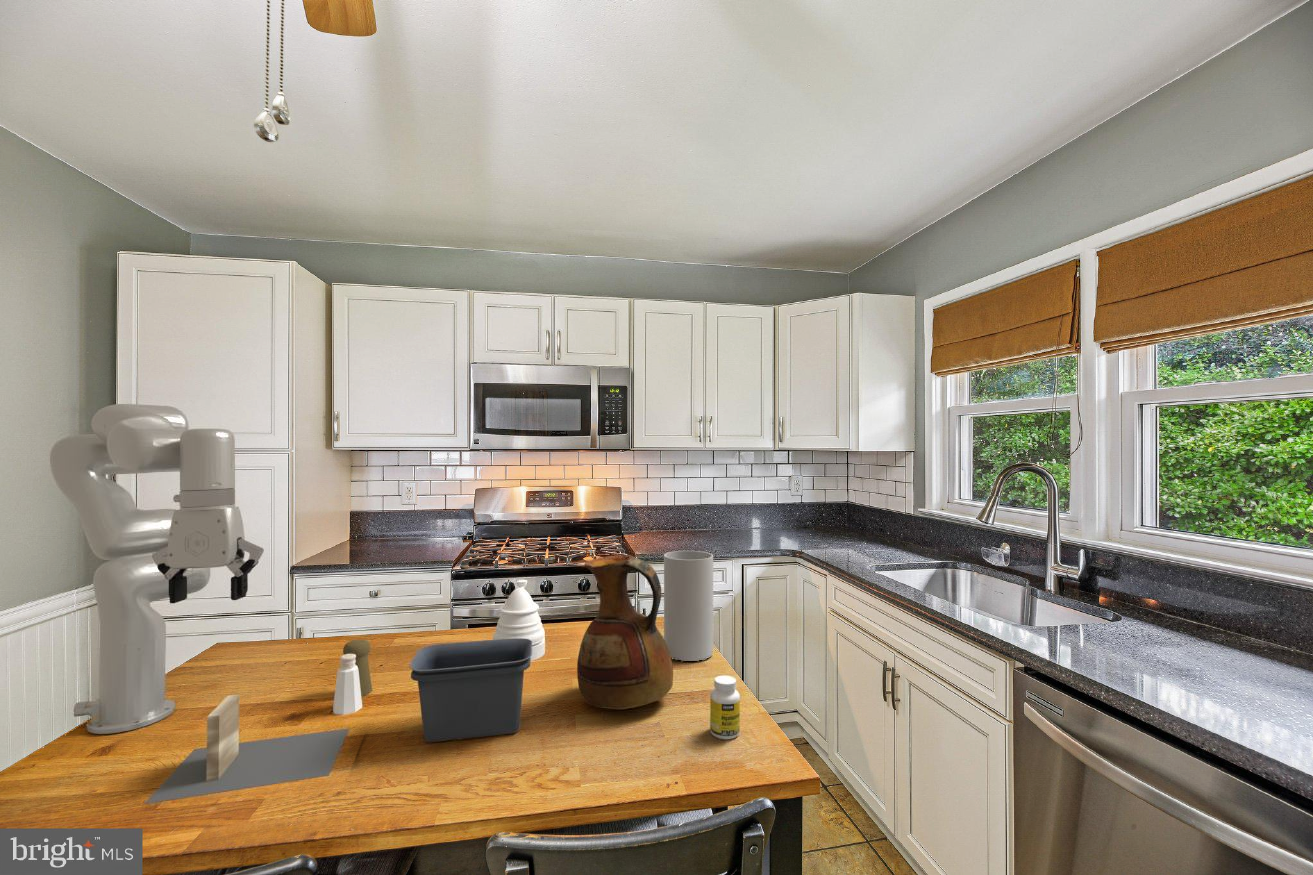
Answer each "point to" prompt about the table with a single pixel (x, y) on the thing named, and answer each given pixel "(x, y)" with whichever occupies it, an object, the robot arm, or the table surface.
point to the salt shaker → (347, 687)
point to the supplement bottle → (725, 708)
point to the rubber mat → (256, 765)
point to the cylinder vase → (688, 604)
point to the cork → (361, 662)
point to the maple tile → (222, 737)
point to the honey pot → (521, 620)
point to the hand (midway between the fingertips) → (208, 599)
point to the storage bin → (471, 687)
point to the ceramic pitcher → (623, 642)
